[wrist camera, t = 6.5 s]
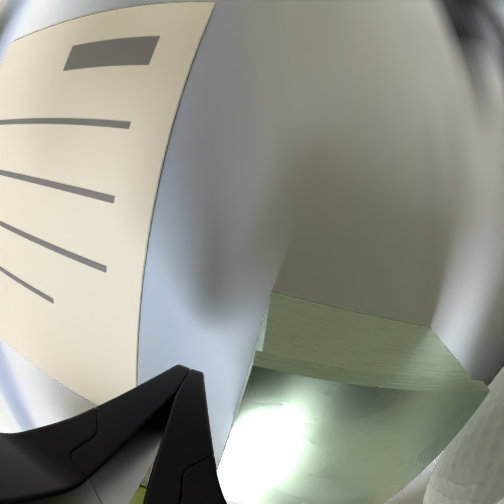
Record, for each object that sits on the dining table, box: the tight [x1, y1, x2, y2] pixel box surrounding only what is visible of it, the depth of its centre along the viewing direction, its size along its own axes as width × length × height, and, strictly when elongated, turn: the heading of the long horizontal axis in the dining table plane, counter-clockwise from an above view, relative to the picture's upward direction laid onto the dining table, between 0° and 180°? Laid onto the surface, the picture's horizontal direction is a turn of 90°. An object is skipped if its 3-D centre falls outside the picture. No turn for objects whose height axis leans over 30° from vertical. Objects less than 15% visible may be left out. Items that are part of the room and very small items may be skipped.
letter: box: [0, 2, 216, 406], centre depth 9 cm, size 18×13×1 cm
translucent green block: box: [217, 292, 490, 504], centre depth 7 cm, size 6×6×4 cm
